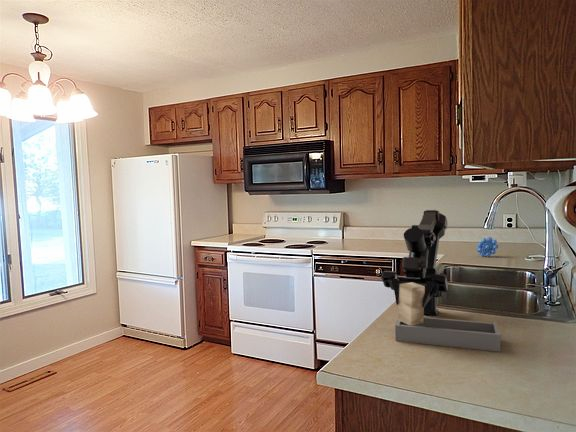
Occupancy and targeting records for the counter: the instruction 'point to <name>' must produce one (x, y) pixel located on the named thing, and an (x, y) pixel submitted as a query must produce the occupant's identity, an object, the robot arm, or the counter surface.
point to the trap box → (451, 333)
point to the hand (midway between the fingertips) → (409, 305)
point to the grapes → (487, 246)
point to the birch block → (411, 303)
